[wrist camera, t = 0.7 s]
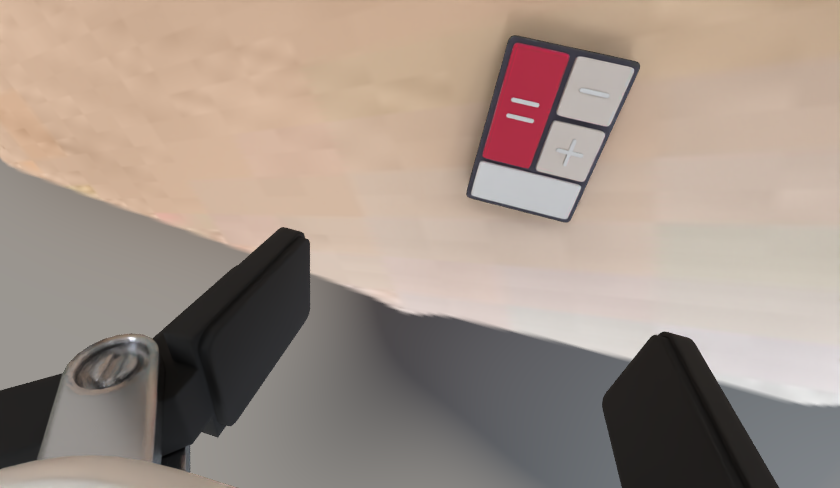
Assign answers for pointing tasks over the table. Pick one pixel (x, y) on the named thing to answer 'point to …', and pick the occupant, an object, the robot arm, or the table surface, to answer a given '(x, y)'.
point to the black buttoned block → (547, 126)
